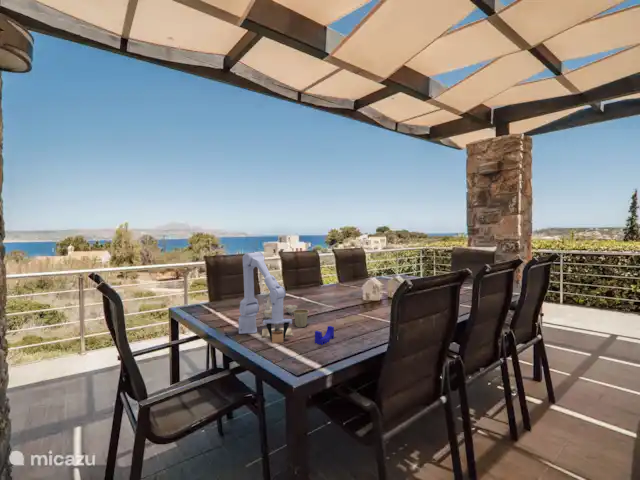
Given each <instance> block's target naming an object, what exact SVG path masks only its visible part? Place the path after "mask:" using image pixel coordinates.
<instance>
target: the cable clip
mask: <svg viewBox="0 0 640 480" xmlns="http://www.w3.org/2000/svg"><path fill="white" fill-rule="evenodd" d="M334 338H335V327H334V326H331V325H328V326H327V328H326V332H325V334H324V335H323V333H322V331H318V330H315V331H314V343H315V344H316V343H317V345H320V344H321V345H320V346H323V344H324V345H326V344H328V343H330V341H331V340H333V339H334ZM330 339H331V340H330ZM327 342H328V343H327ZM325 343H326V344H325Z"/></svg>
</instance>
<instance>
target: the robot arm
mask: <svg viewBox="0 0 640 480" xmlns="http://www.w3.org/2000/svg"><path fill="white" fill-rule="evenodd" d="M255 268H257V270H259V272H260V273H261V275H262V276H263V278H264V280H263V282H264V283H265V286H266V287H267V290H268V291H269V294H268V295H269V298H271V303H272V319H268V318H267V319H263V321H262V325H263V326H265V325H266V329H268V331H269V334H270V338H269V339H270V340H272V332H271V329H272V325H275V324H279V325H280V324H283V328H284V332H283V339H285V338H286V337H285V334H286V331H287V329H288V328H290V327H289V326H290V324H291V325H292V324H293V319H292V318H284V301H283V298H284V299H285V297H286V295H287V292H286V289H285V287H284V286H281V285H280V284H279V281H278V280H277V279H276V277H275V276H274V275H273V274H271V273H270V270H269V268H268V267H267V265H266V262H265V256H264V253H263V252H261V251H256V252H245V253H244V254H243V255H242V270H243V291H244V292H243V293H244V295H243V296H244V297H243V298H242V299H241V300H240V302H239V309H238V310H239V311H238V312H239V314H240V315H239V316H238V327H237V328H238V335H239V334H240V335H241V334H243V335H244V334H257V333H258V327H257V315H258V313H259V311H260V305H259V299H257V298H256V297H255V282H254V281H255V280H254V269H255Z"/></svg>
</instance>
